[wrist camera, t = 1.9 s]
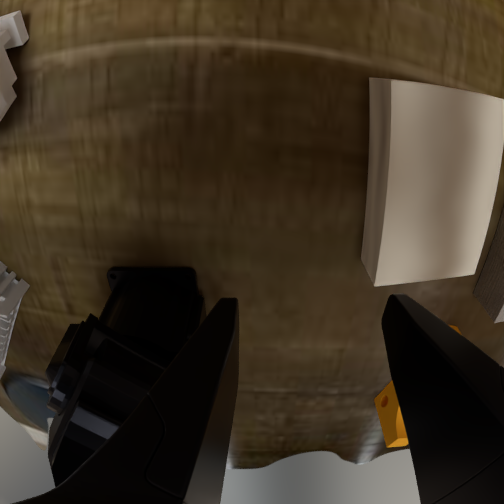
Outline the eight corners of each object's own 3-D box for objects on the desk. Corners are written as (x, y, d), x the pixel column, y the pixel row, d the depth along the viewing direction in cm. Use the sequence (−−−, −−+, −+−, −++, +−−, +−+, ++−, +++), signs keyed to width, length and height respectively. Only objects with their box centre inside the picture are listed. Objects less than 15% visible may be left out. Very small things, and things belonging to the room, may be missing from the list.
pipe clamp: (402, 399, 32) (416, 444, 26) (373, 398, 31) (386, 447, 26) (466, 327, 26) (494, 375, 20) (438, 321, 25) (467, 374, 20)
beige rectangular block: (359, 256, 22) (374, 286, 19) (366, 77, 16) (391, 79, 13) (452, 248, 21) (474, 274, 19) (474, 91, 15) (507, 100, 12)
